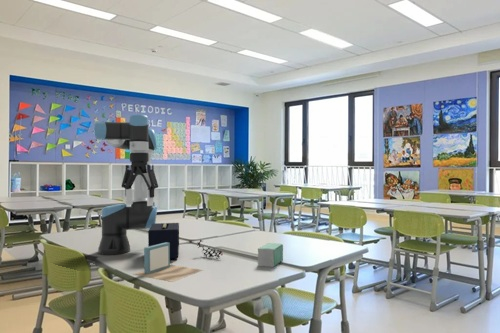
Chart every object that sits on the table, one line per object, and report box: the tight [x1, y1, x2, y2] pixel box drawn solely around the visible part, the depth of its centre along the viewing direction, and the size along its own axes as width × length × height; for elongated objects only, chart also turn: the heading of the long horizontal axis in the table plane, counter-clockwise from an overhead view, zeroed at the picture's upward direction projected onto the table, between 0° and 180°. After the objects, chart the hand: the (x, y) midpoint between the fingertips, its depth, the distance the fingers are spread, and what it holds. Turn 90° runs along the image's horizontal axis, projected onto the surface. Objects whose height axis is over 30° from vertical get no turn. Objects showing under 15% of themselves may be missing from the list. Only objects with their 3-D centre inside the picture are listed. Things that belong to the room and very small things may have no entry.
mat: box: [133, 264, 204, 283], centre depth 151 cm, size 20×18×1 cm
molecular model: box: [196, 238, 224, 259], centre depth 178 cm, size 6×15×8 cm, turn 56°
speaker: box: [147, 222, 180, 261], centre depth 180 cm, size 22×13×15 cm, turn 9°
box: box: [257, 242, 284, 268], centre depth 167 cm, size 7×14×8 cm, turn 159°
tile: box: [143, 242, 171, 274], centre depth 154 cm, size 2×12×10 cm, turn 149°
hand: (139, 205), depth 159 cm, fingers open, 11 cm apart
